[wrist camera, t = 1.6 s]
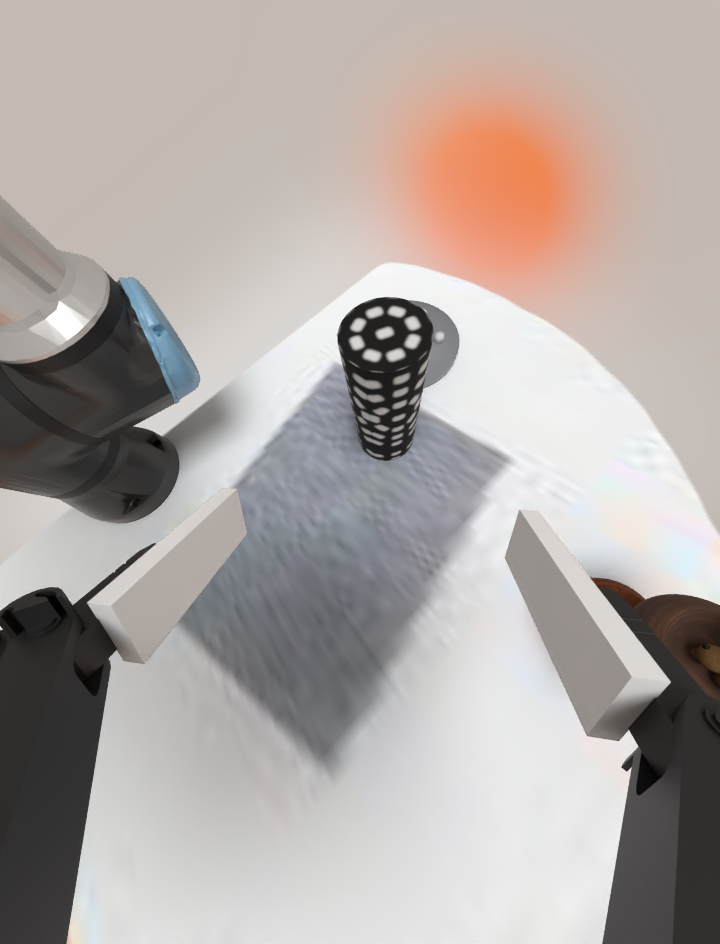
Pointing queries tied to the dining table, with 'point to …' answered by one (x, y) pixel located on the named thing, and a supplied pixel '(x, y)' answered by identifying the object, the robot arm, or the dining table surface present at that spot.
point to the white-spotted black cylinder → (385, 371)
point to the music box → (681, 630)
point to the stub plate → (440, 344)
